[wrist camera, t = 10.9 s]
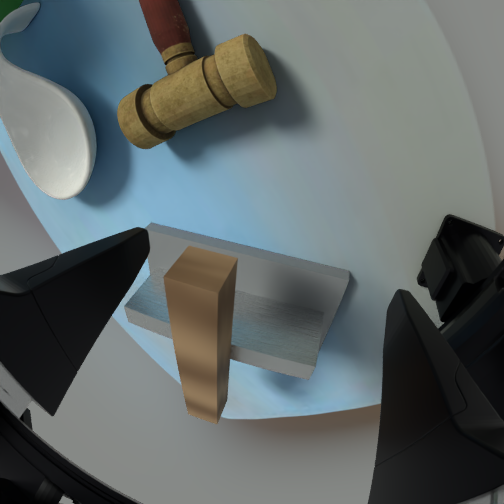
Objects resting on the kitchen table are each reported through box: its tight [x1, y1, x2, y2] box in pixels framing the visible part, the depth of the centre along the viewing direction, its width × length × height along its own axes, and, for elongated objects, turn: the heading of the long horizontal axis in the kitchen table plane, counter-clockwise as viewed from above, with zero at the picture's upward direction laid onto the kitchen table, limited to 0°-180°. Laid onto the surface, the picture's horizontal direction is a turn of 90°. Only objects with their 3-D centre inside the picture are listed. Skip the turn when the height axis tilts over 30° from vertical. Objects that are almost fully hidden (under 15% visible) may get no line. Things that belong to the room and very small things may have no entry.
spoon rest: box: [0, 3, 97, 200], centre depth 18 cm, size 24×12×7 cm, turn 25°
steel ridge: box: [124, 267, 324, 380], centre depth 24 cm, size 16×2×6 cm, turn 84°
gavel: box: [117, 0, 277, 149], centre depth 13 cm, size 21×5×10 cm
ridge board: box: [145, 223, 349, 352], centre depth 27 cm, size 18×10×1 cm, turn 85°
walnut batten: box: [163, 246, 238, 424], centre depth 20 cm, size 18×3×3 cm, turn 174°
